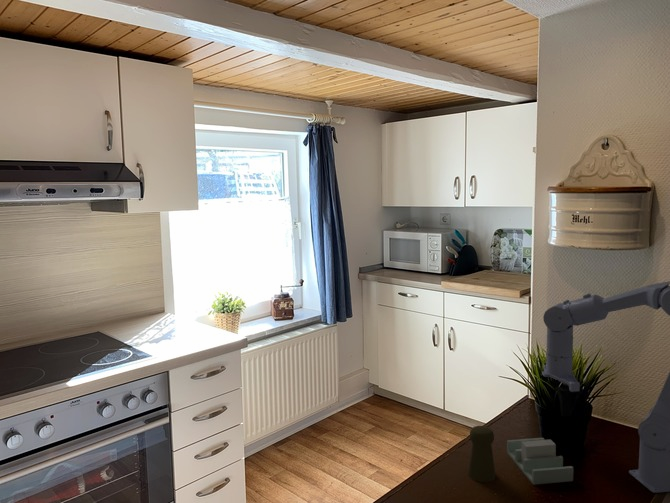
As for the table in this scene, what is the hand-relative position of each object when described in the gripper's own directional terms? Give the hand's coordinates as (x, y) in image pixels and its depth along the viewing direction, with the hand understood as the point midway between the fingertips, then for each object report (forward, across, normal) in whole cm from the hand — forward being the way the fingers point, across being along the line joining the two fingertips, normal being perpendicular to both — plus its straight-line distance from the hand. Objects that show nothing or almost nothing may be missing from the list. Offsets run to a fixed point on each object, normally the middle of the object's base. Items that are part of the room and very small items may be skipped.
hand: (558, 408), depth 125 cm
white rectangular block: (+10, +6, -8) cm, 14 cm away
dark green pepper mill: (+11, +8, -22) cm, 26 cm away
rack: (+10, +6, -8) cm, 15 cm away
